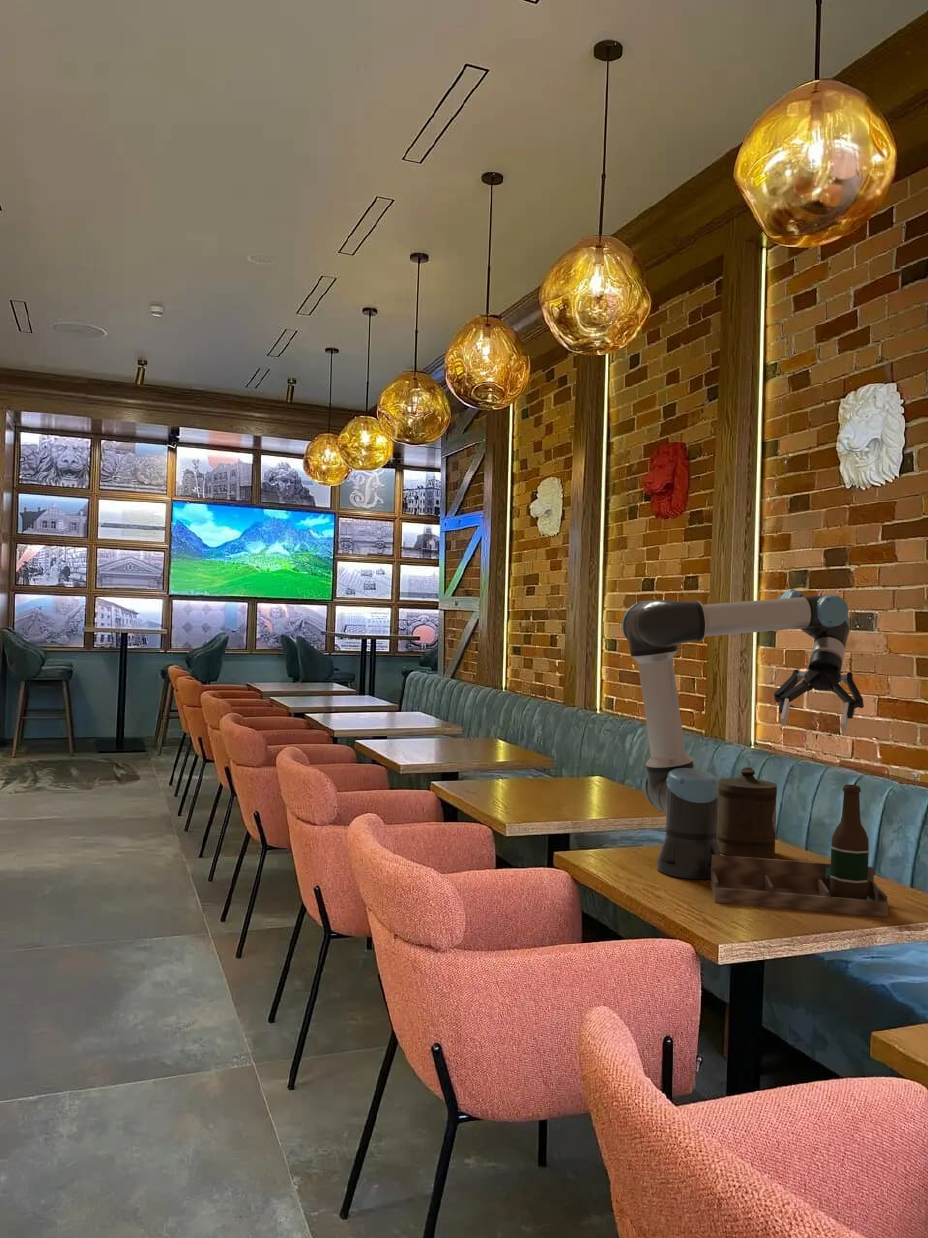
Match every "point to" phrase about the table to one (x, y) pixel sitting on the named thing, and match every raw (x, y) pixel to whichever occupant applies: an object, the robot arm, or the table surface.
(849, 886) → the beer bottle
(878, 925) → the table surface
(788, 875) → the condiment rack
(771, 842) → the wooden container
